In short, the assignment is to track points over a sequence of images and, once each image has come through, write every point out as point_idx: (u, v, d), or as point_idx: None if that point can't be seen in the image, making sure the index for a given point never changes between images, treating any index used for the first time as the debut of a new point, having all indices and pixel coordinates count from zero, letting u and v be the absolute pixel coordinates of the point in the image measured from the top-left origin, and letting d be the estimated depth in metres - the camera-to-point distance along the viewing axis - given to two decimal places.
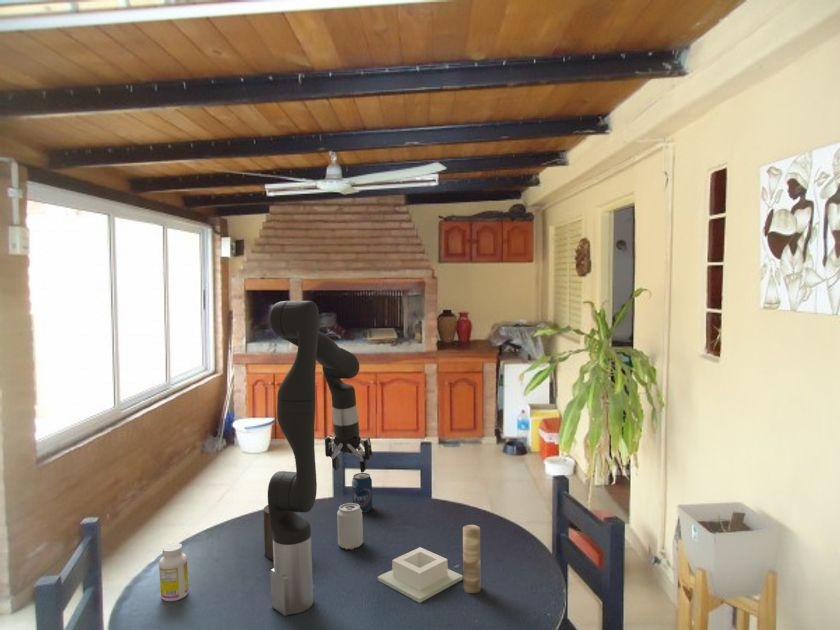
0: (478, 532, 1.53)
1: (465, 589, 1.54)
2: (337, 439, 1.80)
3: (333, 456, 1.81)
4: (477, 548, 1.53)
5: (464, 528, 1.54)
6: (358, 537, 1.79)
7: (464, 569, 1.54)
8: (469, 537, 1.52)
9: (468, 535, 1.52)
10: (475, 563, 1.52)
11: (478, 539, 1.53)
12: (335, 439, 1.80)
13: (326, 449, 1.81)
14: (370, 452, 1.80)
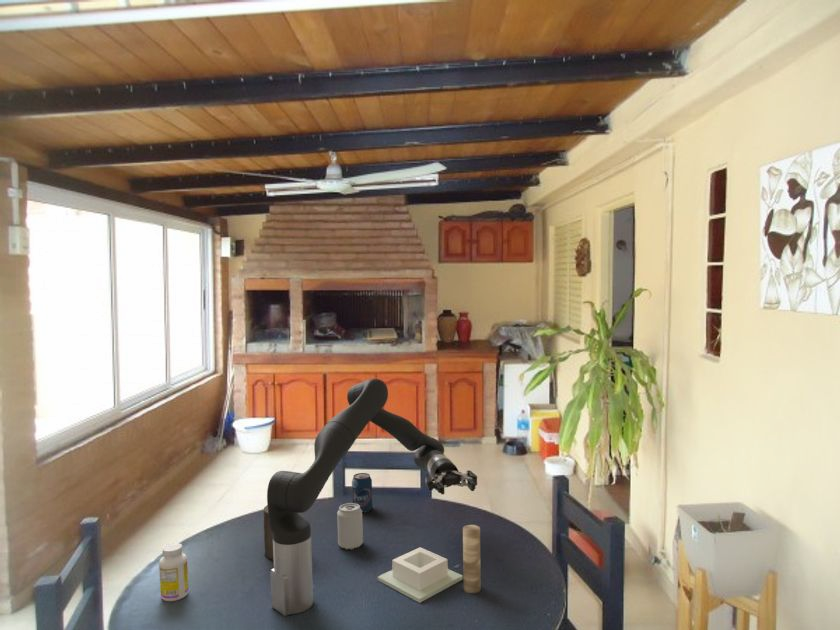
0: (478, 532, 1.53)
1: (465, 589, 1.54)
2: (438, 474, 1.74)
3: (437, 480, 1.68)
4: (477, 548, 1.53)
5: (464, 528, 1.54)
6: (358, 537, 1.79)
7: (464, 569, 1.54)
8: (469, 537, 1.52)
9: (468, 535, 1.52)
10: (475, 563, 1.52)
11: (478, 539, 1.53)
12: (436, 474, 1.73)
13: (428, 479, 1.69)
14: None
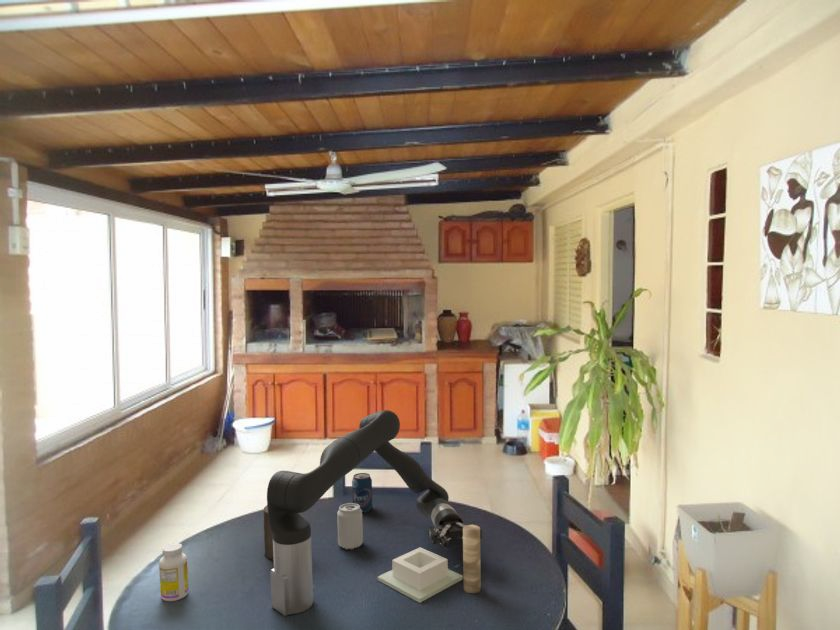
0: (478, 532, 1.53)
1: (465, 589, 1.54)
2: (443, 525, 1.71)
3: (442, 534, 1.65)
4: (477, 548, 1.53)
5: (464, 528, 1.54)
6: (358, 537, 1.79)
7: (464, 569, 1.54)
8: (469, 537, 1.52)
9: (468, 535, 1.52)
10: (475, 563, 1.52)
11: (478, 539, 1.53)
12: (440, 526, 1.70)
13: (432, 532, 1.66)
14: None
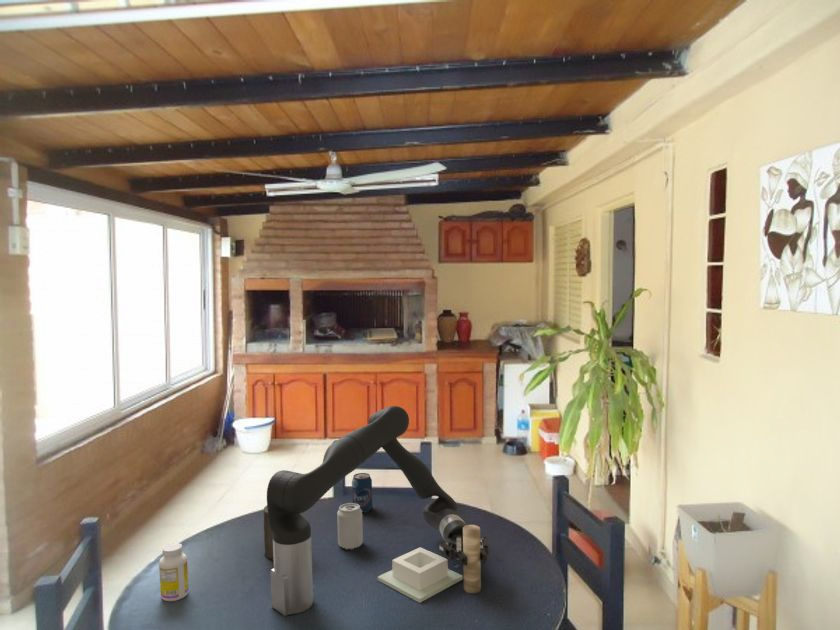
0: (478, 532, 1.53)
1: (465, 589, 1.54)
2: (451, 538, 1.62)
3: (459, 548, 1.56)
4: (477, 548, 1.53)
5: (464, 528, 1.54)
6: (358, 537, 1.79)
7: (464, 569, 1.54)
8: (469, 537, 1.52)
9: (468, 535, 1.52)
10: (475, 563, 1.52)
11: (478, 539, 1.53)
12: (449, 539, 1.62)
13: (447, 547, 1.57)
14: None
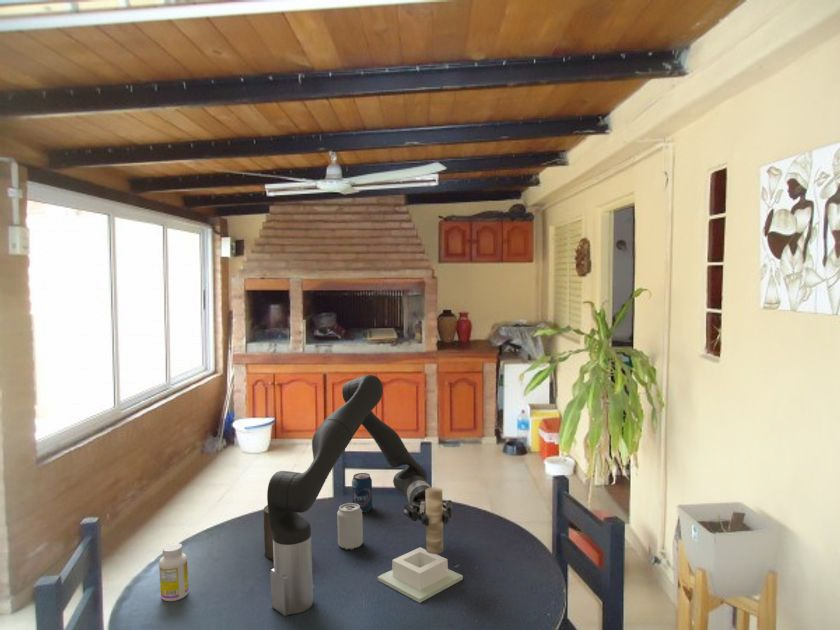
0: (440, 494, 1.55)
1: (427, 550, 1.56)
2: (416, 502, 1.65)
3: (421, 510, 1.58)
4: (439, 509, 1.55)
5: (427, 490, 1.57)
6: (358, 537, 1.79)
7: (426, 530, 1.56)
8: (431, 498, 1.55)
9: (430, 496, 1.55)
10: (436, 524, 1.55)
11: (440, 501, 1.55)
12: (414, 503, 1.64)
13: (410, 509, 1.60)
14: None
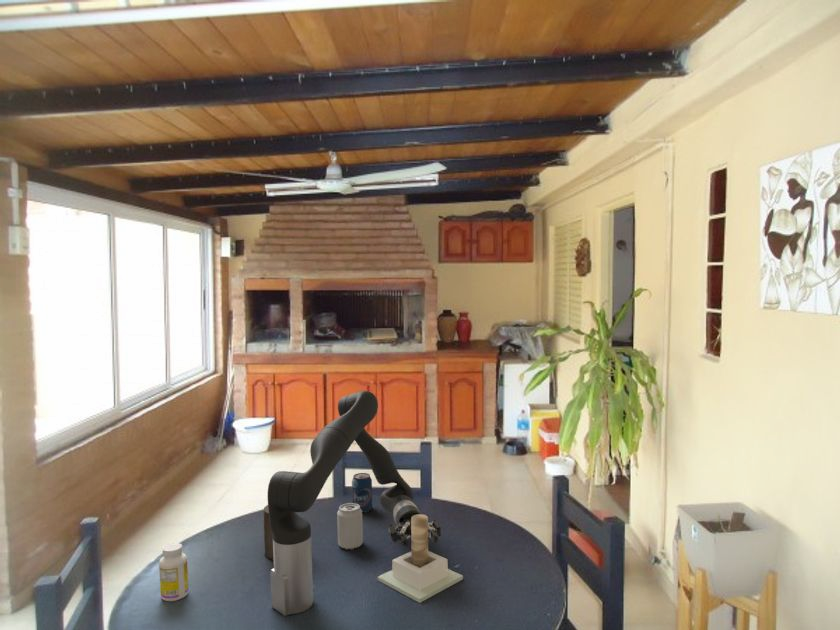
0: (426, 522, 1.57)
1: None
2: (402, 523, 1.67)
3: (402, 531, 1.61)
4: (424, 537, 1.57)
5: (412, 518, 1.58)
6: (358, 537, 1.79)
7: (412, 557, 1.59)
8: (417, 526, 1.57)
9: (416, 524, 1.57)
10: (422, 551, 1.57)
11: (426, 528, 1.57)
12: (400, 523, 1.67)
13: (392, 529, 1.62)
14: None
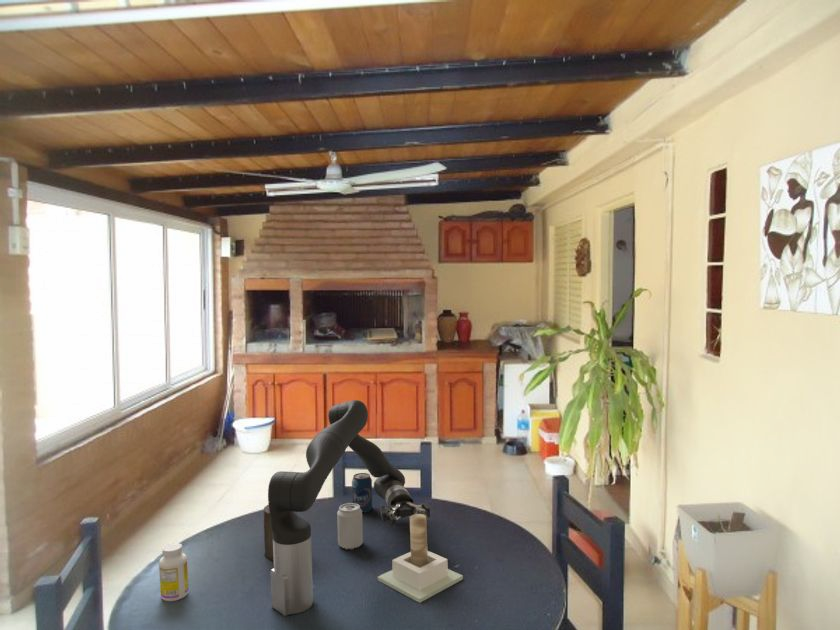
0: (424, 521, 1.58)
1: None
2: (394, 505, 1.79)
3: (391, 512, 1.74)
4: (423, 536, 1.58)
5: (411, 517, 1.59)
6: (358, 537, 1.79)
7: (411, 557, 1.59)
8: (415, 525, 1.57)
9: (414, 524, 1.57)
10: (421, 551, 1.58)
11: (424, 527, 1.58)
12: (391, 505, 1.79)
13: (383, 510, 1.75)
14: None
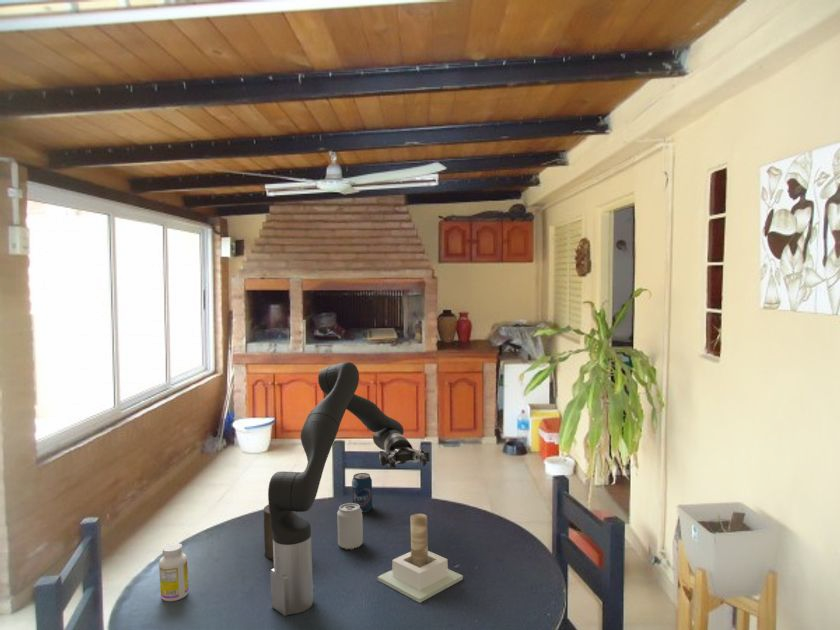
0: (425, 520, 1.58)
1: None
2: (392, 450, 1.78)
3: (390, 456, 1.73)
4: (424, 536, 1.58)
5: (412, 516, 1.59)
6: (358, 537, 1.79)
7: (412, 556, 1.59)
8: (416, 525, 1.57)
9: (415, 523, 1.57)
10: (421, 550, 1.58)
11: (425, 527, 1.58)
12: (390, 451, 1.78)
13: (381, 454, 1.74)
14: None
